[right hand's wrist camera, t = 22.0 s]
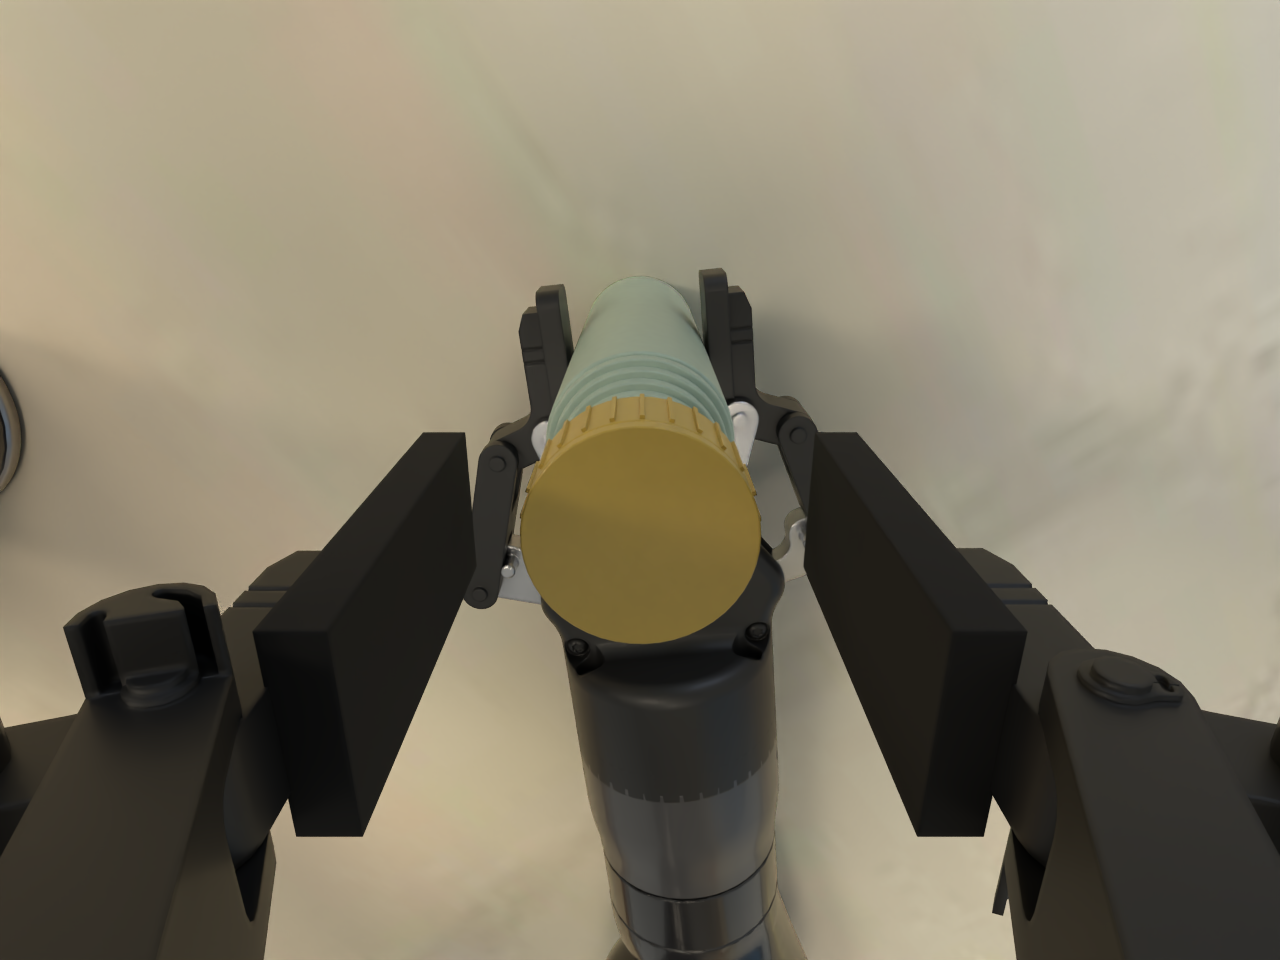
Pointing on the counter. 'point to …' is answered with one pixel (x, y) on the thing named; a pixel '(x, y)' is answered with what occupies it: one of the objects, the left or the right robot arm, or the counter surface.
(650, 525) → the cap
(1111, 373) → the counter surface
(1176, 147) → the counter surface
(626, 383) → the bottle
